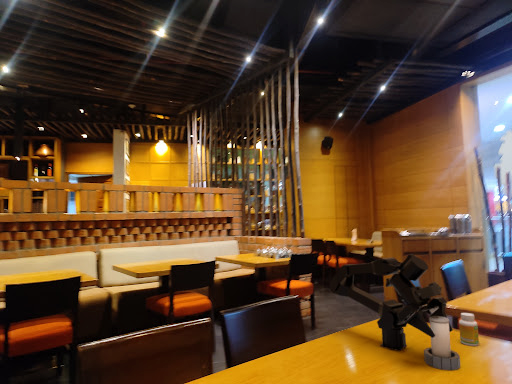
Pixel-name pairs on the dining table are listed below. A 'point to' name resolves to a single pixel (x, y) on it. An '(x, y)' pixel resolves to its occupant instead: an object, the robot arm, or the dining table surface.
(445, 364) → the collar
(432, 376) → the dining table surface
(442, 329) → the duct sleeve
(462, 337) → the supplement bottle
